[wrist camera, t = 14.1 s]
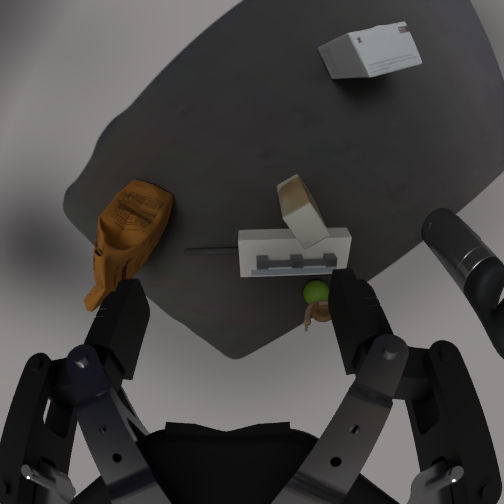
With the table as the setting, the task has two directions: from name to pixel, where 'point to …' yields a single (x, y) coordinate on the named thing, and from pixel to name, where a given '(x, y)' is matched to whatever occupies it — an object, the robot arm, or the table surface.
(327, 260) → the breaker paddles
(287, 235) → the strip
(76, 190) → the table surface
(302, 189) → the skincare box
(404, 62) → the skincare box
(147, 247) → the coffee package
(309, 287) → the snail figurine
